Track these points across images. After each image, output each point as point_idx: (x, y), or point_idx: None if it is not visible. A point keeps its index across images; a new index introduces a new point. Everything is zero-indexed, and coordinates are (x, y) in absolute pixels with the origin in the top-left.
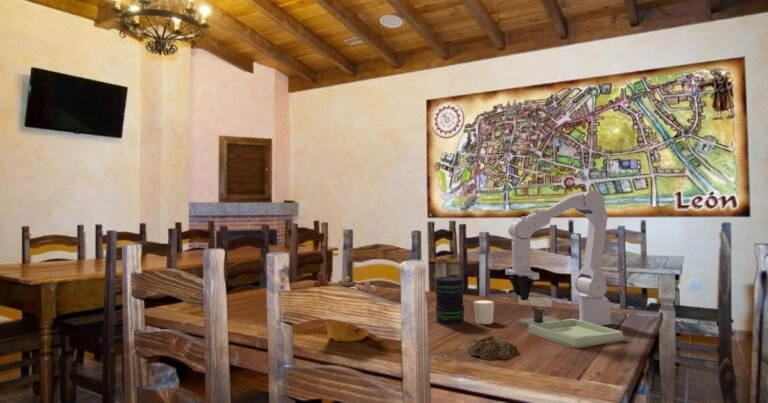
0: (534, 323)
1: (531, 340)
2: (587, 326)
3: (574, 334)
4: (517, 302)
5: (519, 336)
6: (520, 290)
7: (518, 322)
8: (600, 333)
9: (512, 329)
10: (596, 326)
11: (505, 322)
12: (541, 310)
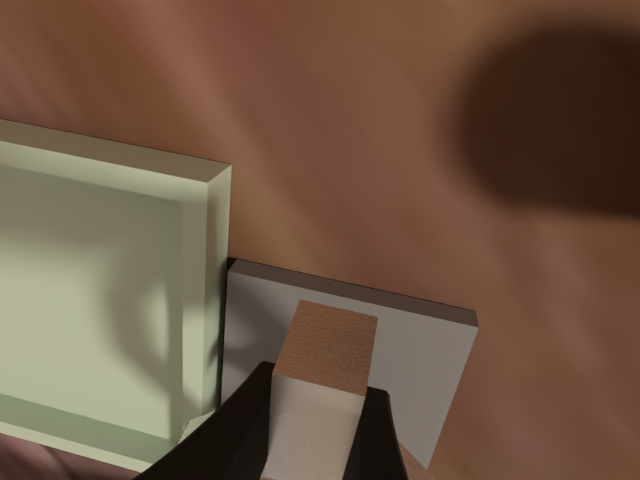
0: None
1: (60, 2)
2: (93, 430)
3: (28, 287)
4: (316, 307)
5: (182, 15)
6: (235, 451)
7: (455, 313)
8: (11, 386)
9: (369, 144)
10: (27, 425)
11: (562, 277)
12: None
